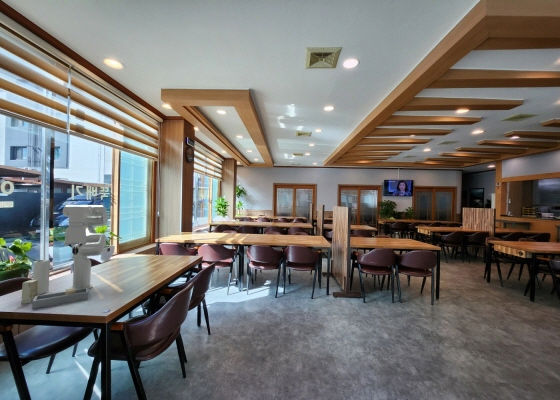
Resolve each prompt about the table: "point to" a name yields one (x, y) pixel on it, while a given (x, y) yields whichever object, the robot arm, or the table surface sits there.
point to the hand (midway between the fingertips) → (75, 254)
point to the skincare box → (29, 291)
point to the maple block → (70, 291)
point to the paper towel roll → (41, 275)
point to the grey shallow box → (59, 298)
